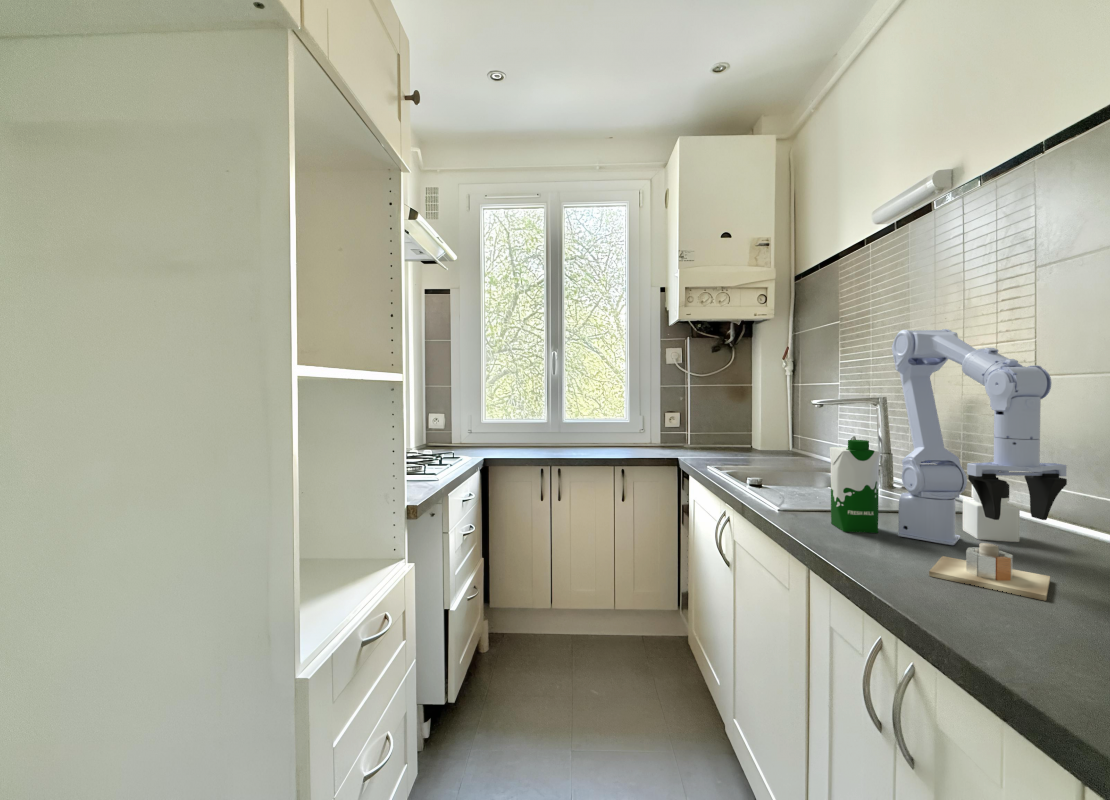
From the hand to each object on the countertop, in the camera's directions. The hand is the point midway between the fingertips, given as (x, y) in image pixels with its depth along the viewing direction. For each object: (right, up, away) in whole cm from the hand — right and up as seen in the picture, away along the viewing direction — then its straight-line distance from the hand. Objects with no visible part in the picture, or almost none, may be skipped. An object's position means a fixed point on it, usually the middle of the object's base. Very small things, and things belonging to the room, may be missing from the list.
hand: (1015, 518), depth 85 cm
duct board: (-6, -9, -2) cm, 11 cm away
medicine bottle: (+14, -9, +21) cm, 27 cm away
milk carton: (-10, -9, +29) cm, 32 cm away
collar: (-6, -9, -2) cm, 11 cm away
